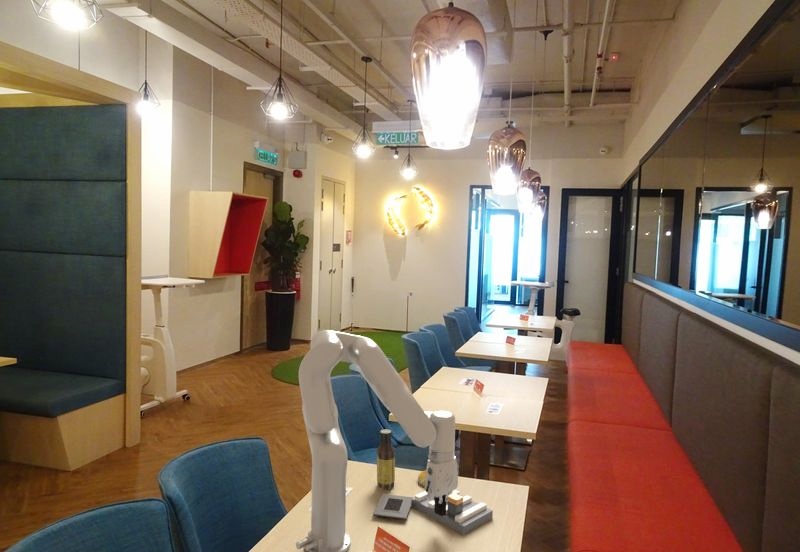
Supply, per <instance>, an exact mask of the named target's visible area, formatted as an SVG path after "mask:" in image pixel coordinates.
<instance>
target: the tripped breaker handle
mask: <svg viewBox="0 0 800 552" xmlns="http://www.w3.org/2000/svg"><path fill="white" fill-rule="evenodd" d="M461 496H462V495H461ZM461 496H459V495H457V494H455V493H454V494H452V495H449V496H448V511H447V514H449V515H451V516H453V517H455V516H457V515H458V514H460V513H462V512H463V497H464V496H463V497H461Z"/></svg>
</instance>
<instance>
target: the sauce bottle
mask: <svg viewBox="0 0 800 552" xmlns="http://www.w3.org/2000/svg"><path fill="white" fill-rule="evenodd" d="M379 436H380V442H379V443H380V444H379V446H378V447H377V451H376V480H377V481H376V482H377V483H376V485H377V487H378V488H379V489H381V490H391V489H393V488H394V487H395V480H396V473H395V470H396V469H395V468H396V466H395V464H396V458H395V457H396V456H395V448H394V446H393V445H392V430H391V429H380V431H379Z"/></svg>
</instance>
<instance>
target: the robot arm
mask: <svg viewBox="0 0 800 552" xmlns="http://www.w3.org/2000/svg"><path fill="white" fill-rule="evenodd" d="M309 347H310V349H309V350H308V351H307V353H306V354H305V355H304V357H303V359H302V360H301V361H300V365H299V368H298V382H299V383H298V384H299V391H300V395H301V396H300V397H301V401H302V404H301V409H302V411H301V412H302V415H303V420H304V425H305V429H306V434H307V439H308V443H309V448H310V454H311V471H312V472H311V512H310V513H311V517H310V518H311V519H310V521H311V529H310V531H307V536H305V538H304V539H300V540H299V541H297V542H296V543H295V548H296V549H297V550H300V549H303V548H305V551H306V552H347V551H348V550H349V549H350V547H351V538H350V537H351V536H350V535H349V534H348V533H347V532H346V513H347V512H346V510H347V509H346V508H347V505H346V503H347V500H346V496H347V488H346V487H347V485H346V484H347V483H346V482H347V469H348V460H349V459H348V458H349V457H348V450H347V446H346V444H345V441H344V439H343V436H342V432H341V430H340V426H339V425H340V424H339V421H338V418H339V412H338V407H337V404H336V402H335V398H334V394H333V393H334V392H333V388H332V387H333V386H332V381H331V374H332V371H333V369H334V368H335V366H337V365H338V364H339V362H345V363H352V364H354V365H355V367H356V368H357V370H358V371H359V373H360V374H361V375H362V377H363V378H364V379H365V381H366V382H367V384H368V385H369V386H370V388H371V389H372V390H373V392H374V393H375V395H376V396H377V397H378V399H379V400H380V402H381V404H383V406H384V407H386V409H387V410H388V411H389V412H390V413H391V414H392V416H393V417H394V418H395V420H396V421H397V422H398V424H399V425H400V426H401V428H402V429H403V432H405V433H406V435H407V436H408V438H409V439H410V440H411V442H412V443H413V444H414V445H415V446H416V447H419V448H427V447H428V455H427V457H428V459H427V463H426V469H425V470H426V477H425V487H424V489H425V490H424V491H426V492H427V493H428V494H427V499H429V500H434V501H435V510H434V512H435V513H436V514H438V515H440V516H443V515H446V501H447V500H448V495H449V493H450V492H451V491H454V490H457V488H458V485H459V472H458V461H457V458H456V457H457V456H455V450H456V447H455V443H456V437H455V436H456V416H455V414H454V413H453V412H452V411H447V410H436V411H428V410H427V411H425V410H424V409H423V408H422V406H421V405H420V404H419V402H418V401H417V399H416V398H415V396H414V395H413V394H412V392H411V390H410V388H409V387H408V385H407V384H406V382H405V381H404V379H403V378H402V377H401V375H400V374H399V373H398V371H397V370H396V368H395V367H394V365H393V364H392V363H391V361H390V360H389V359H388V357H387V356H386V354H385V353H384V351H383V350H382V348H381V347H380V346H379V345H378V344H377V342H375V341H374V340H373V339H372V338H369V337H367V336H363V335H362V336H361V335H357V334H351V333H347V332H341V331H335V330H331V329H323V330H319V331H317V332H316V333H315V334H313V336H312V337H311V339H310V342H309Z"/></svg>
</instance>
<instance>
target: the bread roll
mask: <svg viewBox="0 0 800 552" xmlns="http://www.w3.org/2000/svg"><path fill="white" fill-rule="evenodd" d="M425 477H426V469H425V470H422V471H420V473H419V474H418V475H417V482H418V484H419V485H421V486H422V487H424V488H425Z"/></svg>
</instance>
